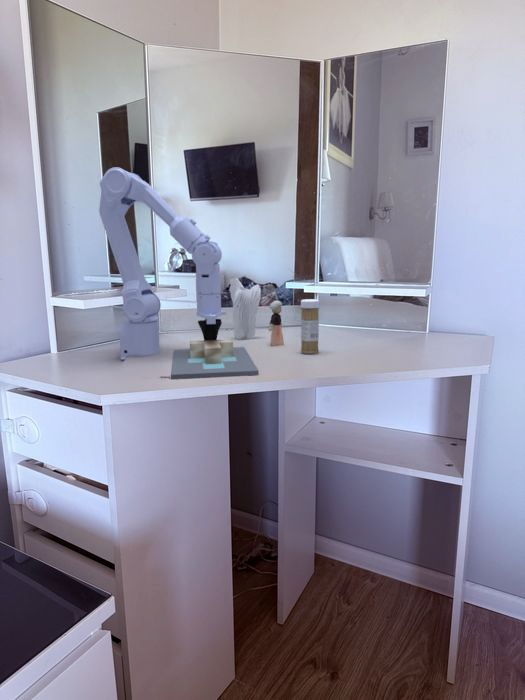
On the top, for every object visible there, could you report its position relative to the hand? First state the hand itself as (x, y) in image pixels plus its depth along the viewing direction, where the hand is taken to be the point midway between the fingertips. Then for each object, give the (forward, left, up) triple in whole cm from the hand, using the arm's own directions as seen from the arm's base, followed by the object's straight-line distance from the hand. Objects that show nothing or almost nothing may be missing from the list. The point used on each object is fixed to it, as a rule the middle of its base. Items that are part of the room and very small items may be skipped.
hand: (210, 349), depth 118 cm
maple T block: (0, -6, -1) cm, 6 cm away
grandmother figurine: (+18, +9, -2) cm, 20 cm away
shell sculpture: (+11, +21, -2) cm, 24 cm away
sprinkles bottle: (+25, +1, -2) cm, 25 cm away
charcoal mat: (0, -6, -2) cm, 7 cm away
